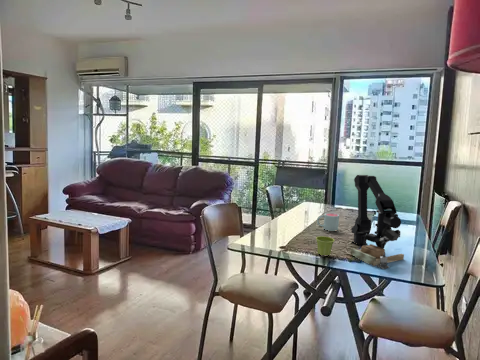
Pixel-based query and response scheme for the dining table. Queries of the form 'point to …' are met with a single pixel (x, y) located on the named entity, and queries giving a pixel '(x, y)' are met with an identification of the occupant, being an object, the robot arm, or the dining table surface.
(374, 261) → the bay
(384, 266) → the winch drum
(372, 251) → the crate
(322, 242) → the plant pot
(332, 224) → the mug
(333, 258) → the dining table surface
